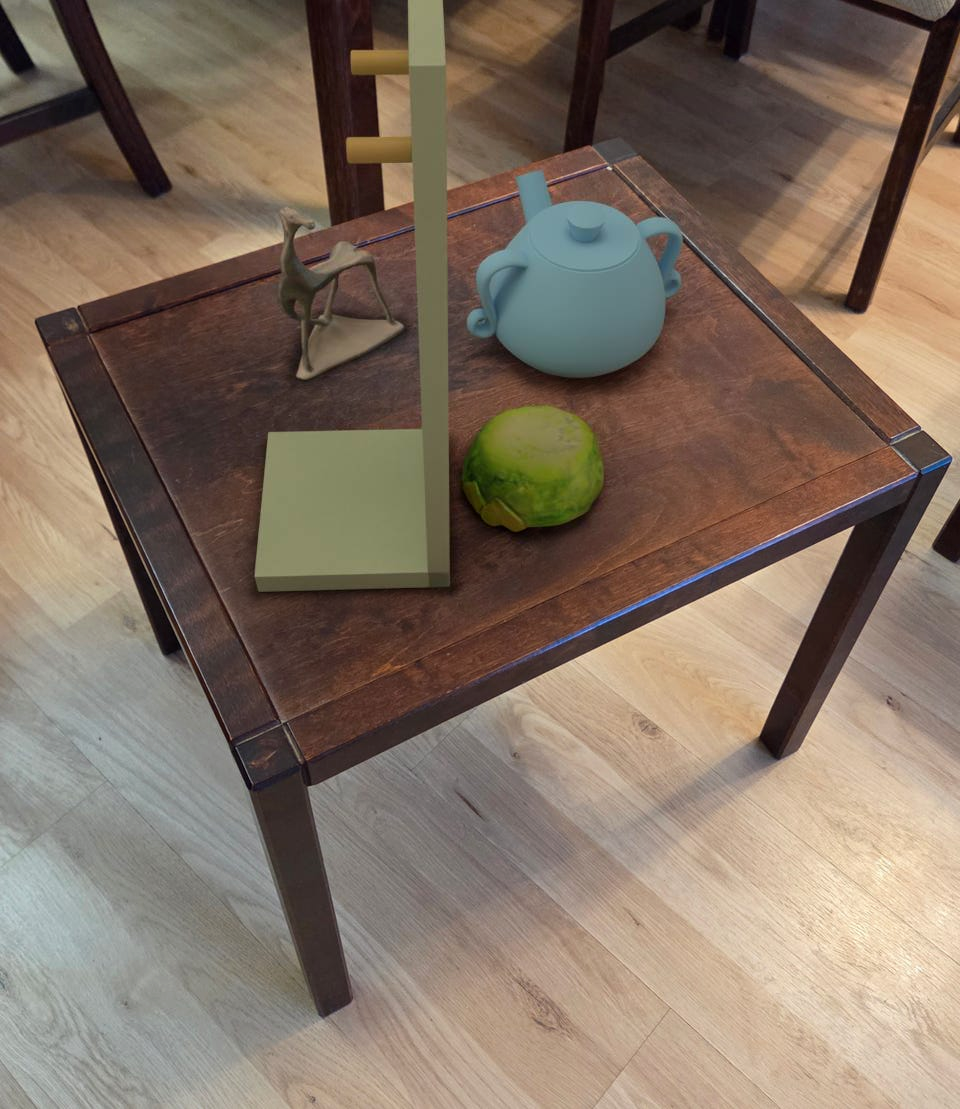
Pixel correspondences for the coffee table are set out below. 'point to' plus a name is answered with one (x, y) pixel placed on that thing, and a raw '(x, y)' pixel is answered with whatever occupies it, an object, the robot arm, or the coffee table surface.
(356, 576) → the rack
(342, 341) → the figurine
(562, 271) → the teapot
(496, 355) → the coffee table surface
